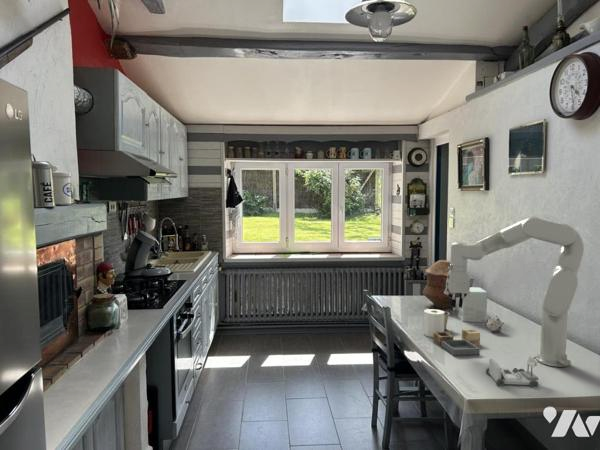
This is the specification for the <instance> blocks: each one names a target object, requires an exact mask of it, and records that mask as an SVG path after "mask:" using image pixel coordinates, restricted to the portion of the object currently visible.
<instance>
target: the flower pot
mask: <svg viewBox="0 0 600 450" xmlns="http://www.w3.org/2000/svg"><path fill="white" fill-rule="evenodd" d="M443 311H444V310H443ZM450 314H451V313H450V312H448V311H444V331H445V330H446V329H447V326H448V320H449V315H450Z"/></svg>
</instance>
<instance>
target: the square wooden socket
mask: <svg viewBox="0 0 600 450" xmlns="http://www.w3.org/2000/svg"><path fill="white" fill-rule="evenodd" d="M445 340H454V336H453V335H452V334H451V333H449V332H447V331H444V332H434V333H433V337H432V342H433V343H434V344H436V345H437V346H438V347H441V341H445Z"/></svg>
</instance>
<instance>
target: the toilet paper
mask: <svg viewBox="0 0 600 450" xmlns="http://www.w3.org/2000/svg"><path fill="white" fill-rule="evenodd" d="M434 332H445V330H444V310H441V309H434V308H431V309H430V308H427V309H424V310H423V335H424V336H425V337H426V336H427V337H431V338H433V333H434Z"/></svg>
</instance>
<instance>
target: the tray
mask: <svg viewBox="0 0 600 450" xmlns="http://www.w3.org/2000/svg"><path fill="white" fill-rule="evenodd" d="M440 347H441V349H443V350H445V351H446V352H447V353H449V354H450V355H451V354H452V356H453V357H465V356H467V357H468V356H480V350H481V349H480V347H478V345H473V344H472V343H470V342H469V341H467V340H462V339H453V340H445V341H441V346H440Z"/></svg>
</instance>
